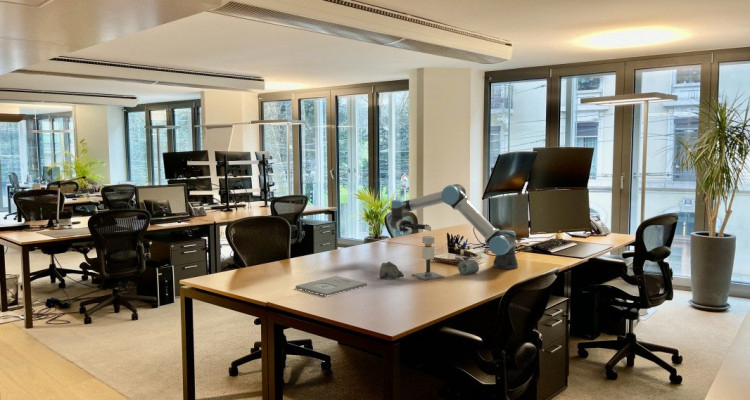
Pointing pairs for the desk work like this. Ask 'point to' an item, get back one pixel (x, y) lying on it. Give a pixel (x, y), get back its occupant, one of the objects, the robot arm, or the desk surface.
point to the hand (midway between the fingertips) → (420, 229)
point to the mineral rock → (389, 271)
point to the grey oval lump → (468, 267)
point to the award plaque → (331, 285)
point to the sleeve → (428, 252)
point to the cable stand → (428, 263)
